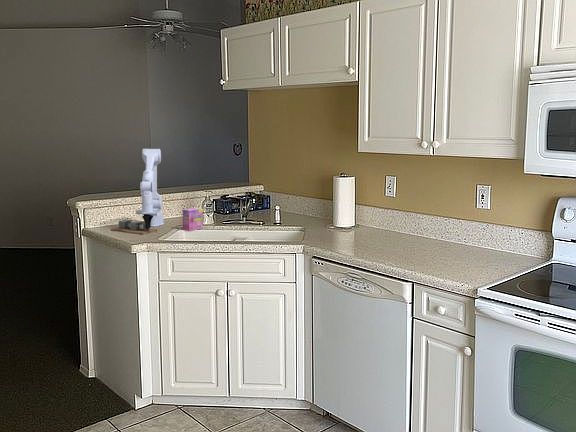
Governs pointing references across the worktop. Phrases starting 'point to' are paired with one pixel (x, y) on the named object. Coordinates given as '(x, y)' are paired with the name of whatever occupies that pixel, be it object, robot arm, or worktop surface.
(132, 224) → the bearing board
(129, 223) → the shaft
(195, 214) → the box
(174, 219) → the worktop surface
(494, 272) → the worktop surface
